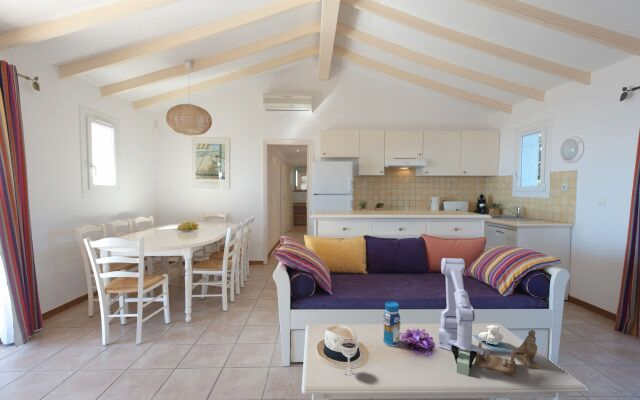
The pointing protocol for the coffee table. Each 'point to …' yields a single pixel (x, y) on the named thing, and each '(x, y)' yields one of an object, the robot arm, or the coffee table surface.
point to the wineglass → (348, 353)
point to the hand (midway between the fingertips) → (463, 365)
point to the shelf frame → (496, 363)
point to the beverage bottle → (391, 324)
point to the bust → (491, 334)
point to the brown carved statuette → (527, 351)
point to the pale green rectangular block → (463, 363)
